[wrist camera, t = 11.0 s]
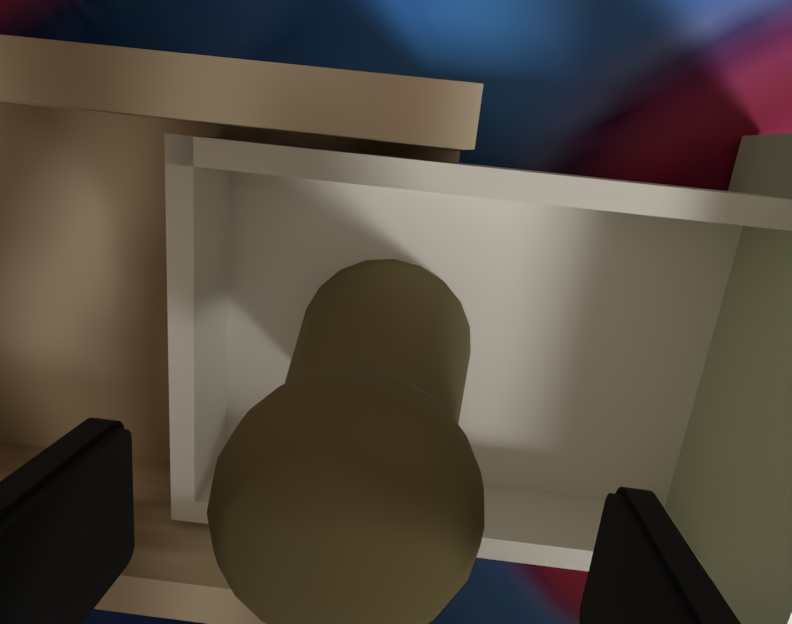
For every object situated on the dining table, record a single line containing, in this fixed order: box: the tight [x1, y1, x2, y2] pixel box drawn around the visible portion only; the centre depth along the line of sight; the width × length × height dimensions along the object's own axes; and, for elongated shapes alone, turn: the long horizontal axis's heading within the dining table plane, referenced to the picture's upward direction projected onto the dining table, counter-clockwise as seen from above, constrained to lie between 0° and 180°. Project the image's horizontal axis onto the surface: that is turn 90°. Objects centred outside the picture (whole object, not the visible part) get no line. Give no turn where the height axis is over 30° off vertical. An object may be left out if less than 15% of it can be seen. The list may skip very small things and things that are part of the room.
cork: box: [207, 259, 485, 624], centre depth 14 cm, size 6×6×11 cm
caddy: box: [0, 35, 483, 624], centre depth 18 cm, size 19×16×7 cm
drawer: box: [164, 133, 792, 624], centre depth 17 cm, size 18×16×8 cm
